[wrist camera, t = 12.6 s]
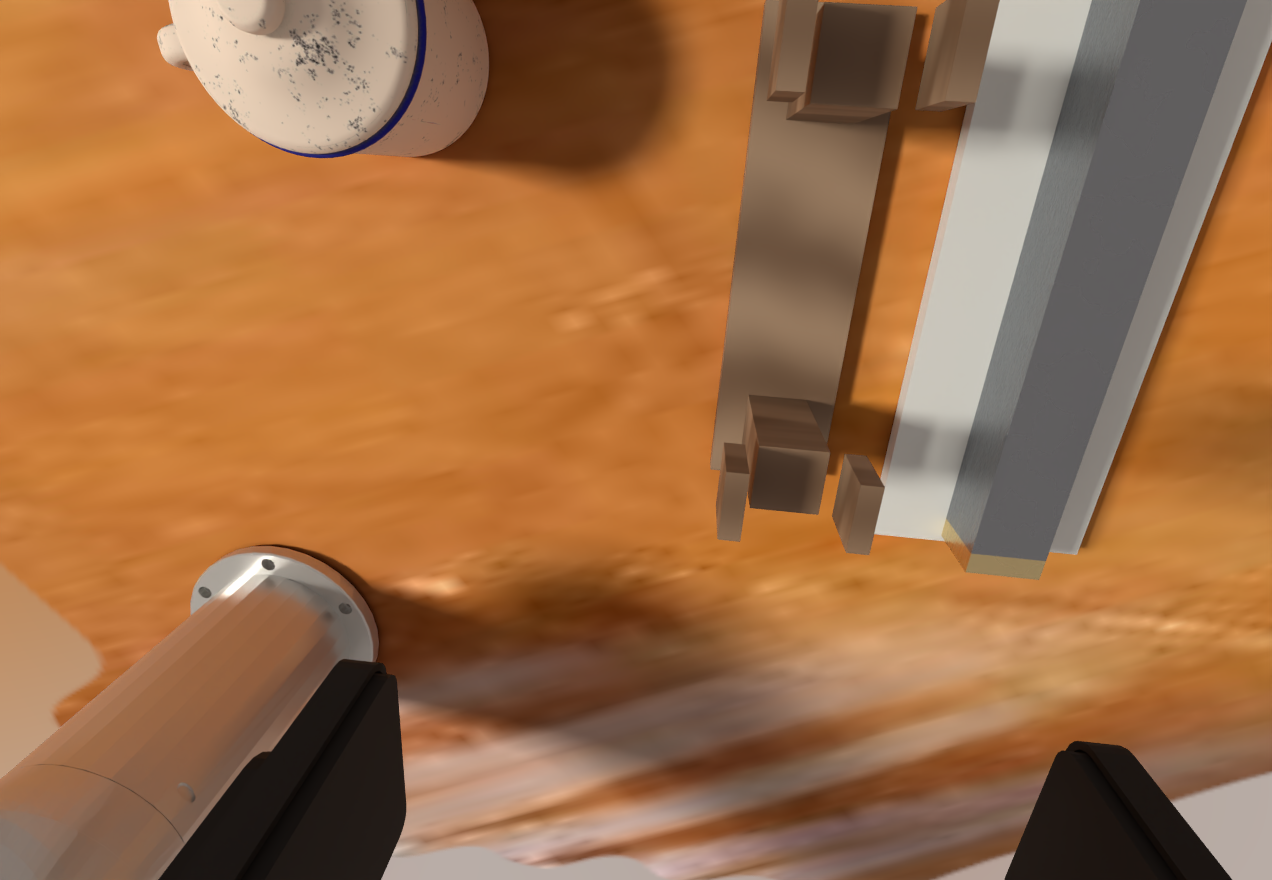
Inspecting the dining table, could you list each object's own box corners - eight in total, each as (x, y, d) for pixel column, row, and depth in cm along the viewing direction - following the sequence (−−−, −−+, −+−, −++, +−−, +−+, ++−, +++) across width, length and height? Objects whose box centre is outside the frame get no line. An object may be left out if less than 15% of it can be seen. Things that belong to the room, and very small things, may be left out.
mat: (1067, 545, 37) (1077, 554, 36) (869, 525, 37) (873, 534, 36) (1290, -57, 26) (1312, -66, 25) (1006, -70, 27) (1018, -78, 26)
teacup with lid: (479, -73, 28) (343, -225, 18) (509, 154, 32) (411, 143, 21) (227, -41, 30) (-43, -164, 19) (281, 173, 33) (78, 172, 22)
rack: (817, 472, 36) (861, 586, 26) (710, 462, 37) (713, 570, 27) (904, 12, 28) (1019, -82, 18) (764, 5, 28) (798, -90, 18)
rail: (1007, 542, 36) (1039, 579, 32) (941, 535, 36) (965, 572, 33) (1203, -55, 25) (1279, -90, 22) (1108, -59, 26) (1169, -95, 22)
